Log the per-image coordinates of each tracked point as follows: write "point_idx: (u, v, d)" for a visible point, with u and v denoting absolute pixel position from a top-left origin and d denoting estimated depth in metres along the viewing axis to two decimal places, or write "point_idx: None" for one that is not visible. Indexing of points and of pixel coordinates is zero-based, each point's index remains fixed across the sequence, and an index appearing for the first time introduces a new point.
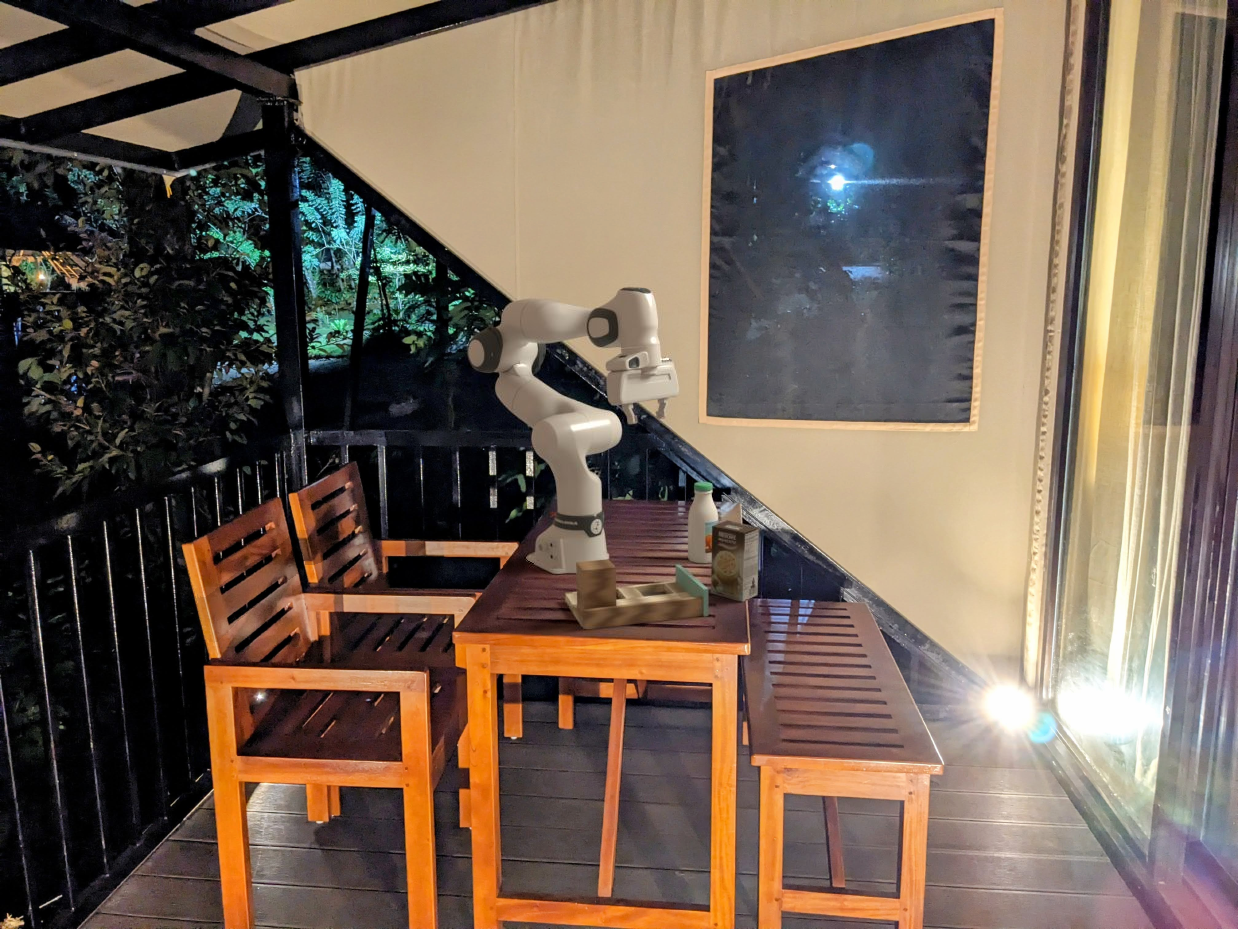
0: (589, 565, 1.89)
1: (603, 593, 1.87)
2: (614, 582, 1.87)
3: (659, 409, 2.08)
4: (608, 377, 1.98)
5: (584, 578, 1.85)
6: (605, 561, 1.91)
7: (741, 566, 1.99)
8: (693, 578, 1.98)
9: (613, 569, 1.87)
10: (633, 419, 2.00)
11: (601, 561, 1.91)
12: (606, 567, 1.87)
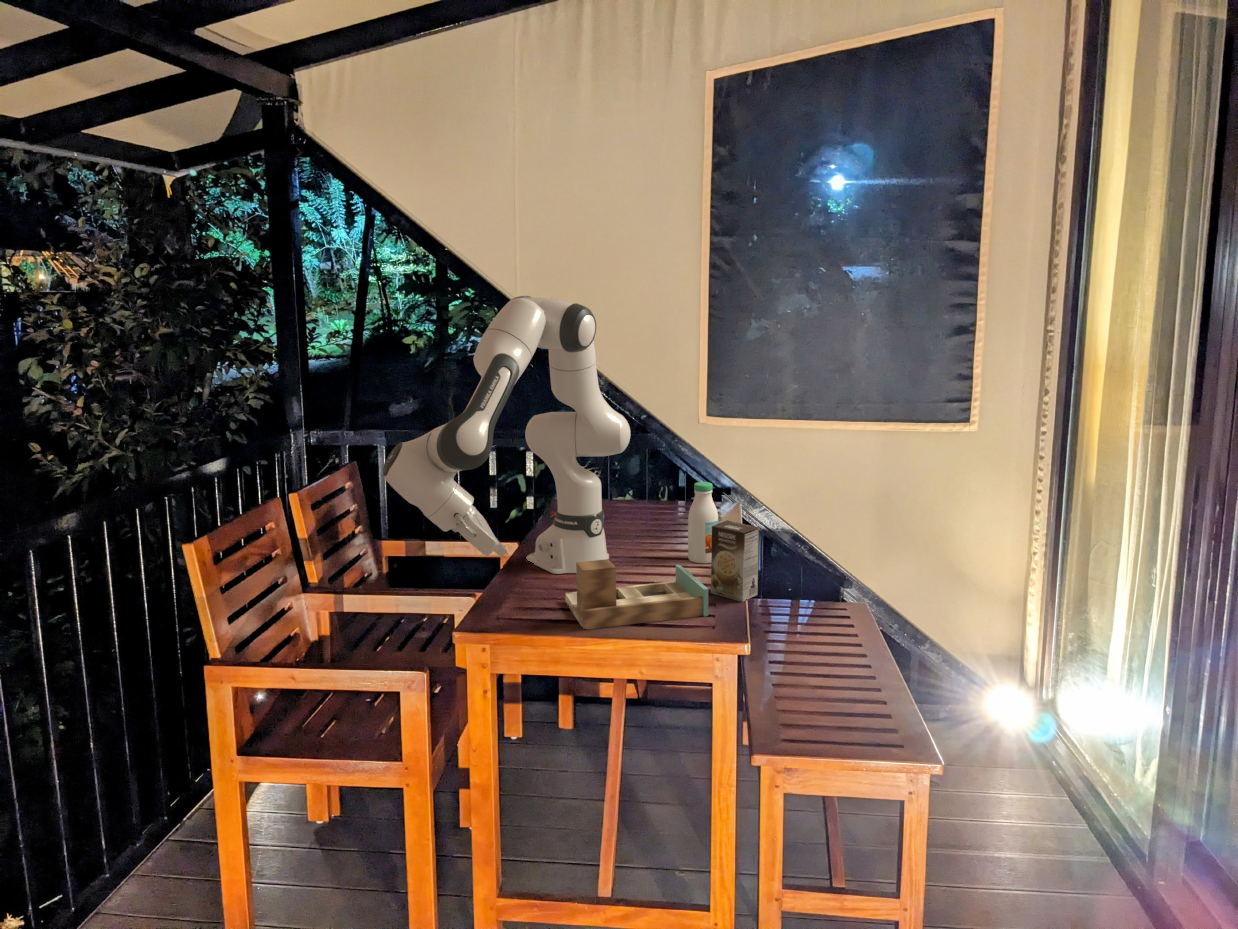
0: (589, 565, 1.89)
1: (603, 593, 1.87)
2: (614, 582, 1.87)
3: None
4: None
5: (584, 578, 1.85)
6: (605, 561, 1.91)
7: (741, 566, 1.99)
8: (693, 578, 1.98)
9: (613, 569, 1.87)
10: None
11: (601, 561, 1.91)
12: (606, 567, 1.87)
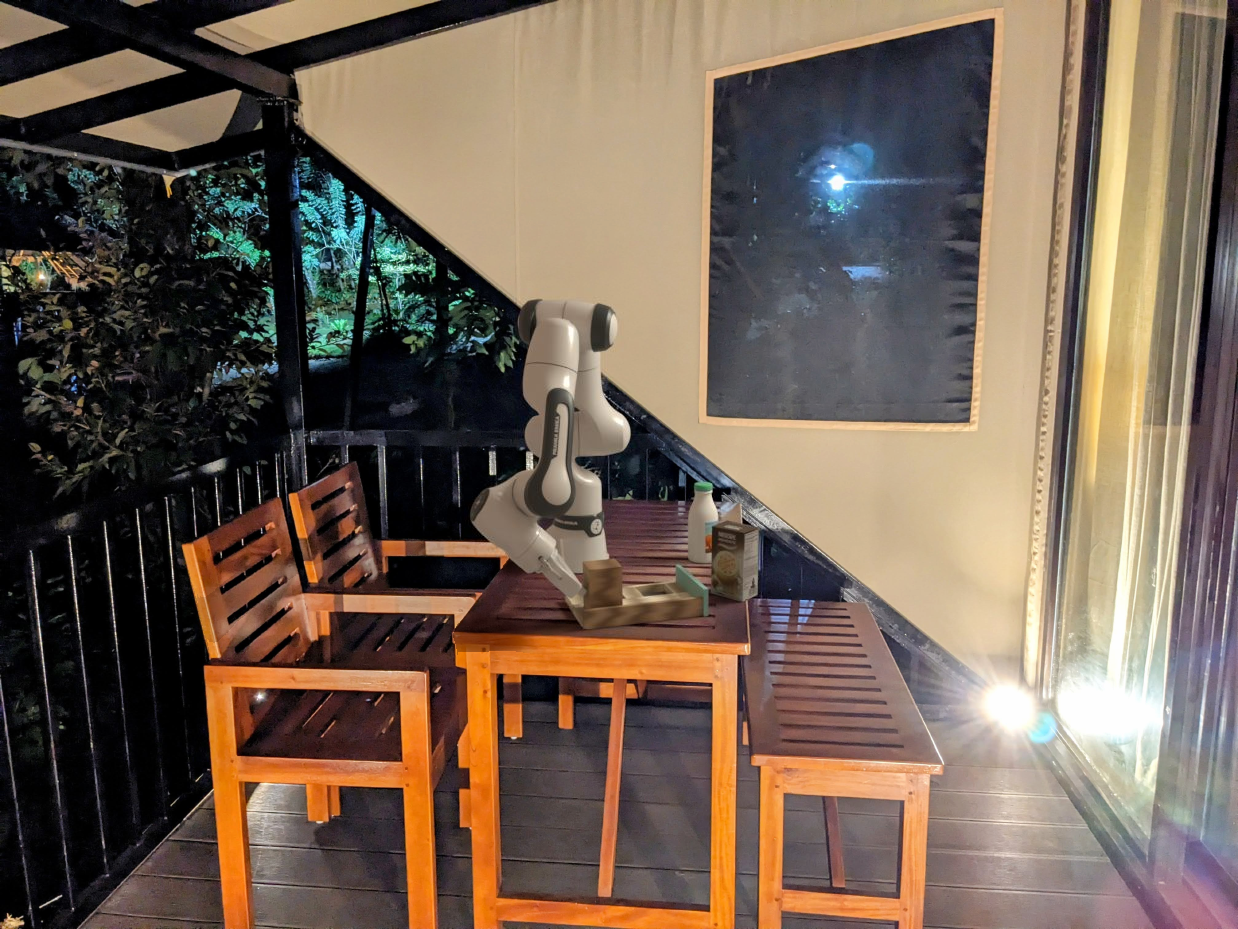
0: (596, 564, 1.89)
1: (609, 592, 1.87)
2: (620, 581, 1.88)
3: None
4: None
5: (590, 577, 1.86)
6: (611, 560, 1.91)
7: (741, 566, 1.99)
8: (693, 578, 1.98)
9: (619, 568, 1.87)
10: None
11: (607, 560, 1.91)
12: (612, 566, 1.87)
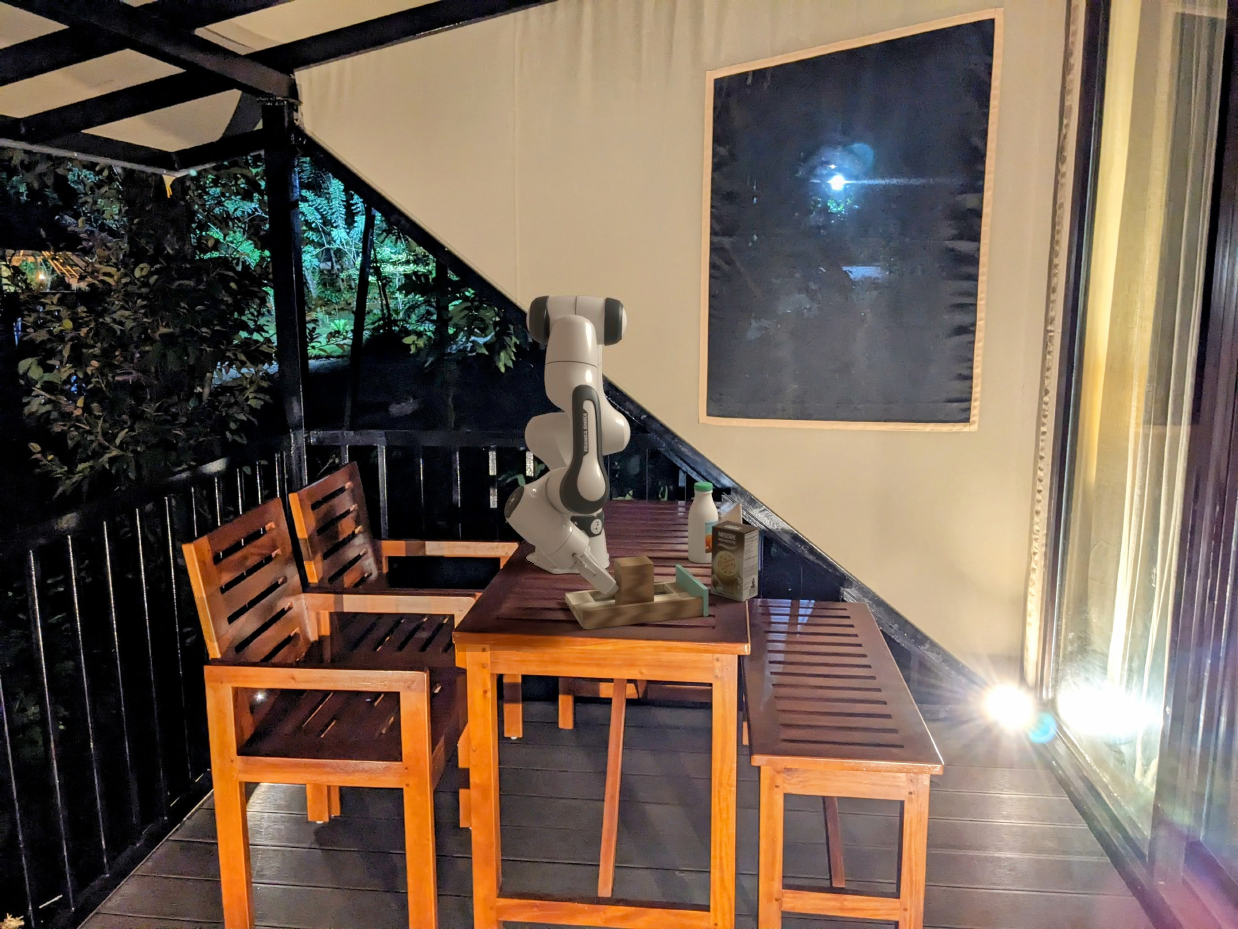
0: (627, 561, 1.91)
1: (641, 589, 1.89)
2: (652, 578, 1.89)
3: None
4: None
5: (623, 574, 1.87)
6: (643, 557, 1.93)
7: (741, 566, 1.99)
8: (693, 578, 1.98)
9: (651, 565, 1.89)
10: None
11: (639, 557, 1.93)
12: (644, 563, 1.89)
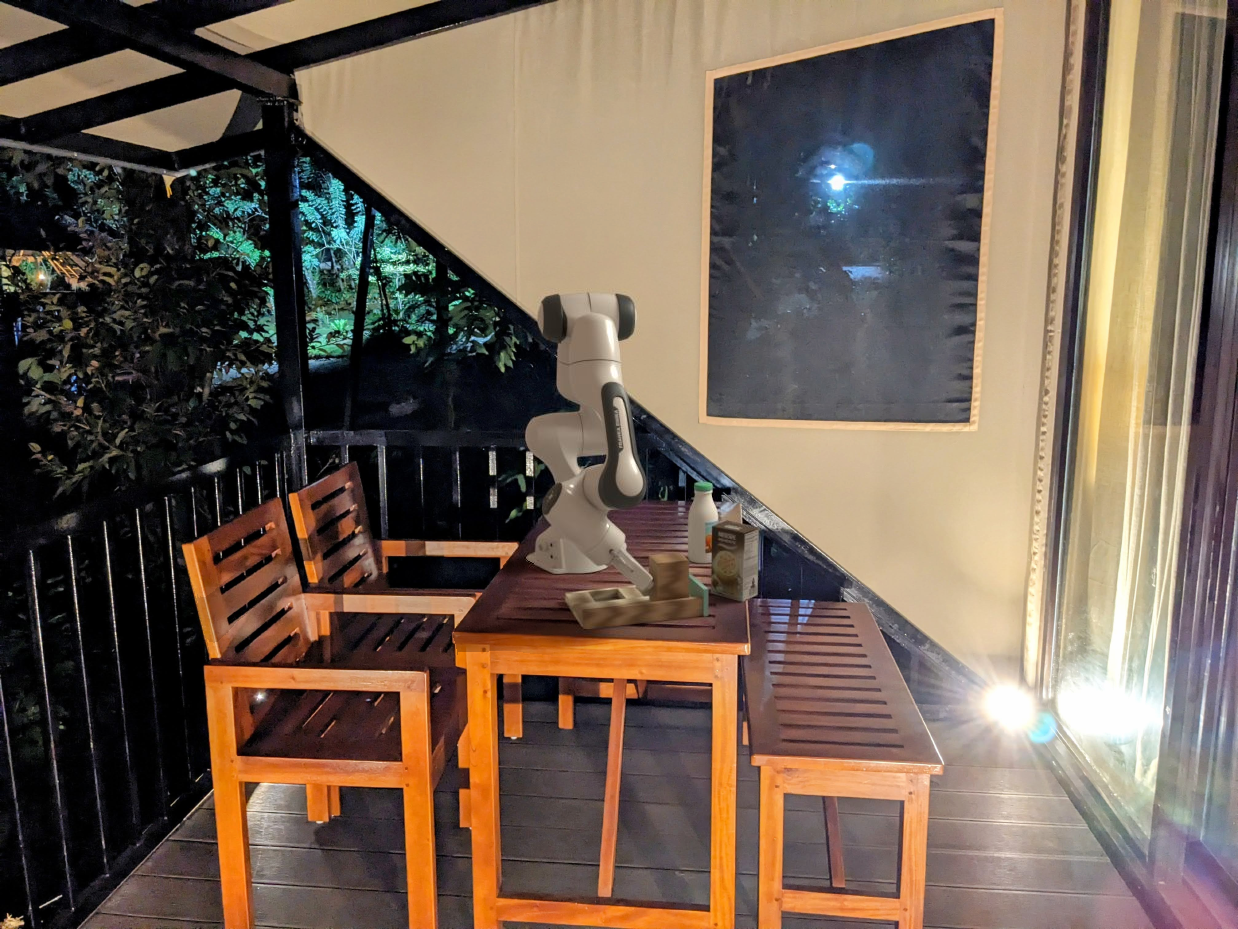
0: (662, 558, 1.93)
1: (676, 585, 1.91)
2: (687, 575, 1.91)
3: None
4: None
5: (658, 571, 1.89)
6: (677, 554, 1.95)
7: (741, 566, 1.99)
8: (693, 578, 1.98)
9: (686, 562, 1.91)
10: None
11: (673, 554, 1.95)
12: (679, 560, 1.91)
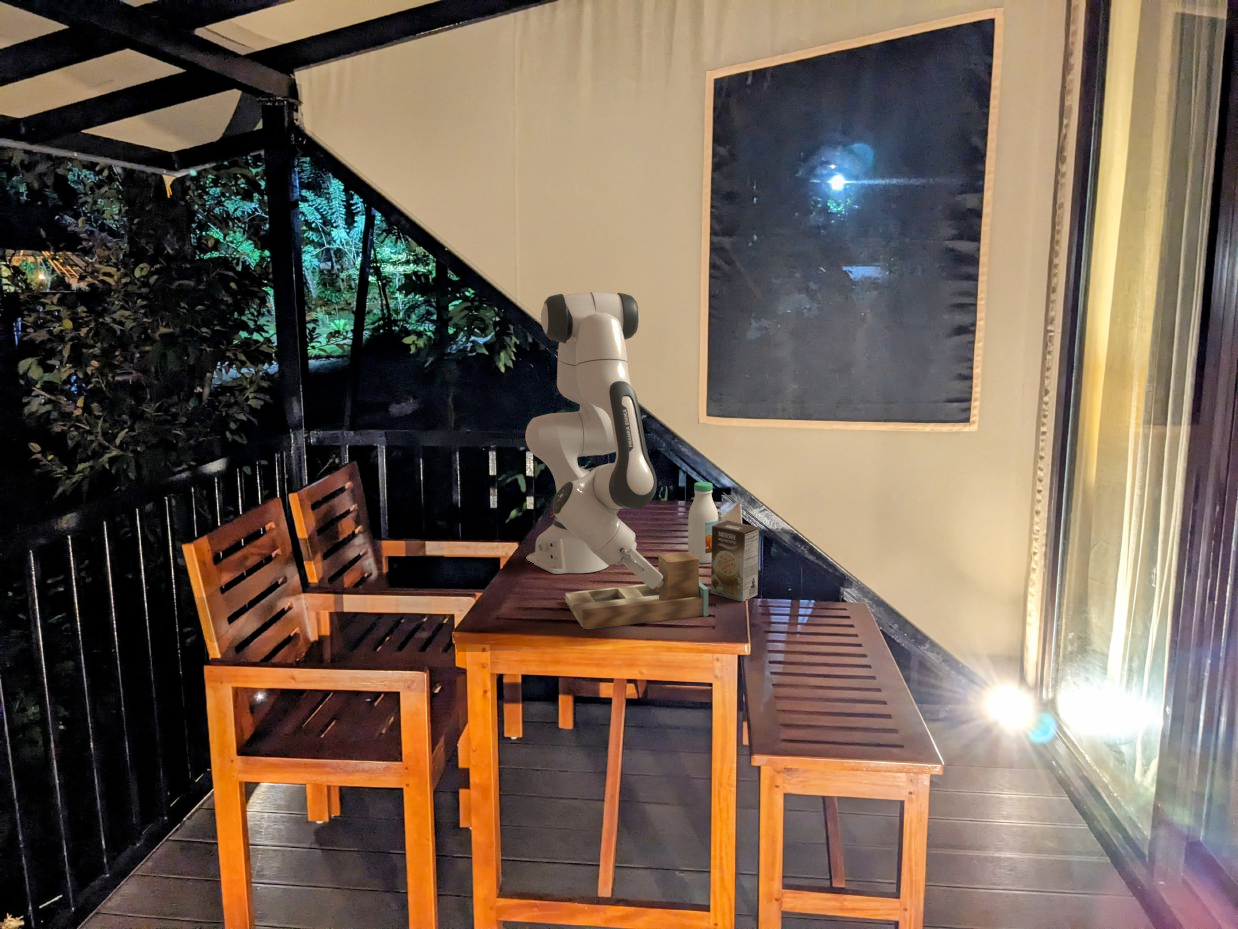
0: (672, 557, 1.93)
1: (686, 584, 1.92)
2: (697, 574, 1.92)
3: None
4: None
5: (669, 570, 1.90)
6: (687, 553, 1.95)
7: (741, 566, 1.99)
8: None
9: (696, 561, 1.91)
10: None
11: (683, 553, 1.95)
12: (689, 559, 1.91)
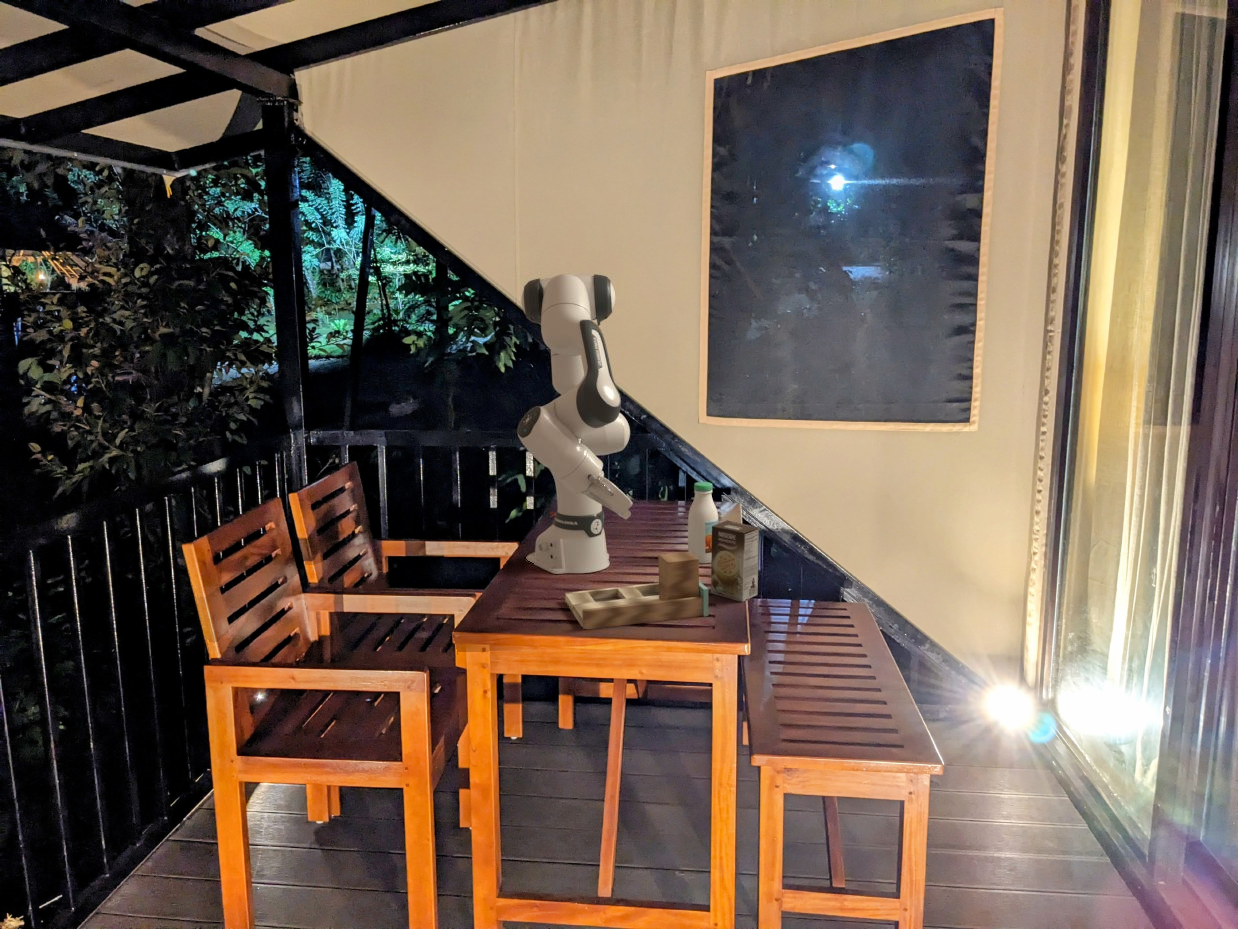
0: (672, 557, 1.93)
1: (686, 584, 1.92)
2: (697, 574, 1.92)
3: None
4: None
5: (669, 570, 1.90)
6: (687, 553, 1.95)
7: (741, 566, 1.99)
8: None
9: (696, 561, 1.91)
10: (618, 514, 1.90)
11: (683, 553, 1.95)
12: (689, 559, 1.91)
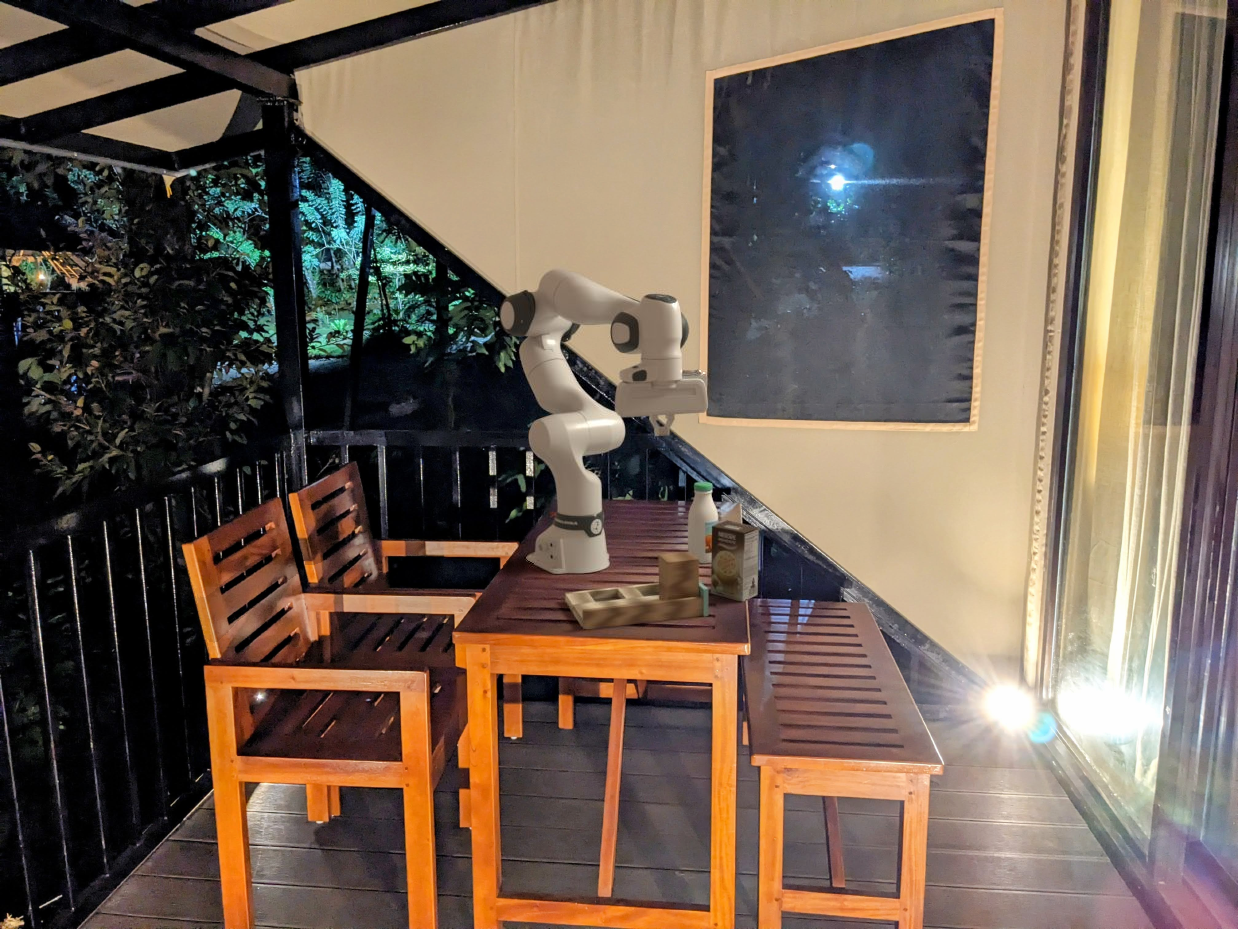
0: (672, 557, 1.93)
1: (686, 584, 1.92)
2: (697, 574, 1.92)
3: (665, 425, 1.96)
4: (617, 387, 1.93)
5: (669, 570, 1.90)
6: (687, 553, 1.95)
7: (741, 566, 1.99)
8: None
9: (696, 561, 1.91)
10: (657, 431, 1.94)
11: (683, 553, 1.95)
12: (689, 559, 1.91)
